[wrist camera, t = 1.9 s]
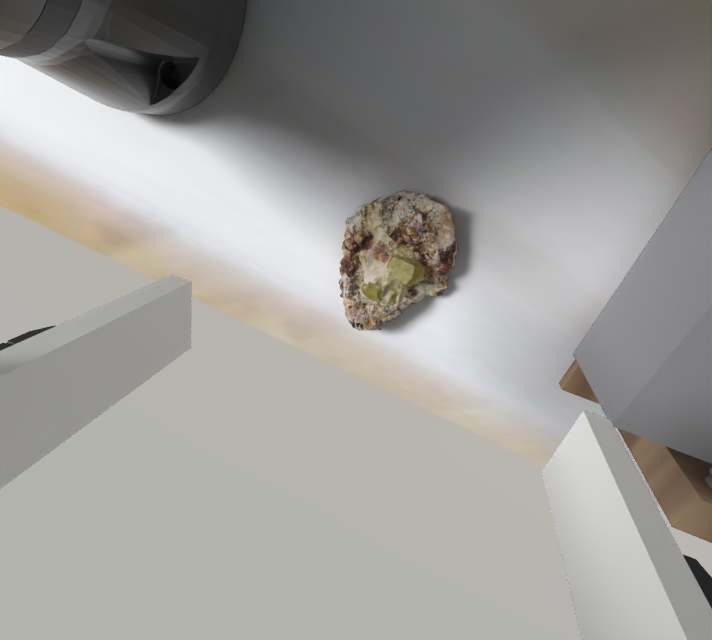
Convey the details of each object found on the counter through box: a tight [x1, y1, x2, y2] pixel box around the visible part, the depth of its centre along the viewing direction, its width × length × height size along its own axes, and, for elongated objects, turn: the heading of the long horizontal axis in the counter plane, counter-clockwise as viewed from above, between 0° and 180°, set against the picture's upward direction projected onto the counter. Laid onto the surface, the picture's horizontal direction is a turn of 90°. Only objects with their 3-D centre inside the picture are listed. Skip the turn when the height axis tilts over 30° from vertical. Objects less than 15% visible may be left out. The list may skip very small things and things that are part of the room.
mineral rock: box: [339, 190, 458, 330], centre depth 25 cm, size 11×4×8 cm
